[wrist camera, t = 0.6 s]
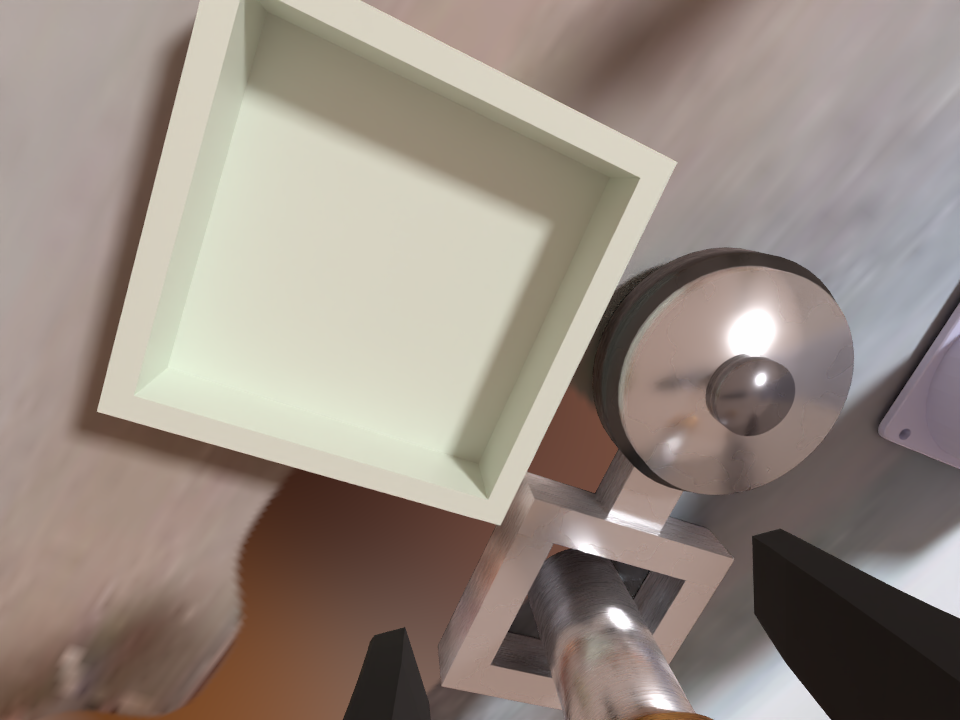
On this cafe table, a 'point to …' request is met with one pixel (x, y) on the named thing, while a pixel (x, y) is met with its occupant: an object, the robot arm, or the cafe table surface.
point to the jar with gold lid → (601, 644)
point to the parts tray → (371, 254)
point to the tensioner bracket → (665, 452)
